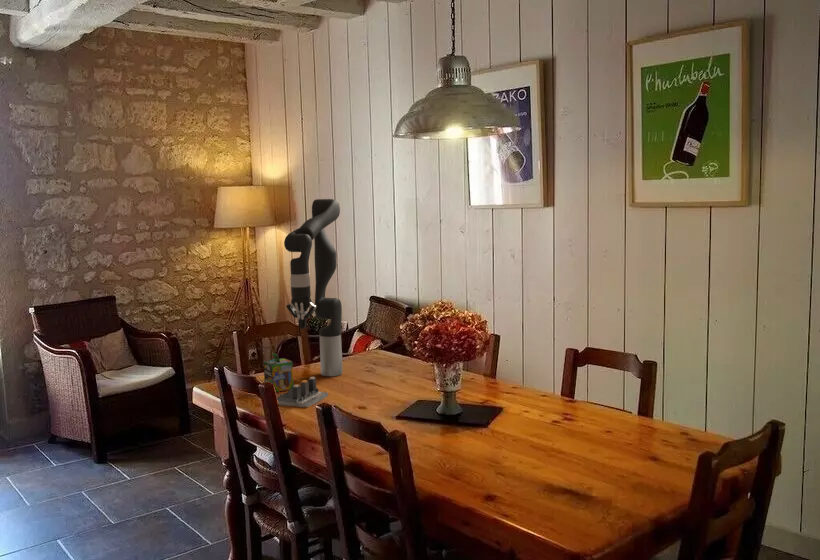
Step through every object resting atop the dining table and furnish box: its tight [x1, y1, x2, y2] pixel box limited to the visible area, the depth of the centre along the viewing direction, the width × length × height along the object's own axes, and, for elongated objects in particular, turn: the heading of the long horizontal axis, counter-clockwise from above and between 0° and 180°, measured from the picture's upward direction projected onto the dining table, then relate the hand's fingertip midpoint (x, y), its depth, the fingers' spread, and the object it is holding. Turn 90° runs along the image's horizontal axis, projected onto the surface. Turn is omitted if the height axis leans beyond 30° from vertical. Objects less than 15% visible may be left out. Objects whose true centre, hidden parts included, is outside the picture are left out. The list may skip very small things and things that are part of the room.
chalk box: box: [262, 352, 295, 393], centre depth 298 cm, size 9×9×15 cm
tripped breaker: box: [300, 379, 309, 397], centre depth 281 cm, size 2×2×6 cm
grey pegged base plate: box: [277, 376, 329, 408], centre depth 282 cm, size 17×15×8 cm
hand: (302, 328), depth 293 cm, fingers closed
